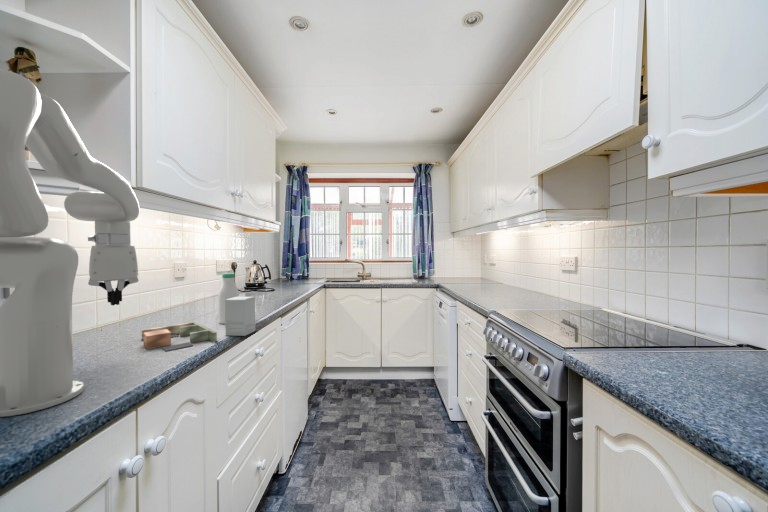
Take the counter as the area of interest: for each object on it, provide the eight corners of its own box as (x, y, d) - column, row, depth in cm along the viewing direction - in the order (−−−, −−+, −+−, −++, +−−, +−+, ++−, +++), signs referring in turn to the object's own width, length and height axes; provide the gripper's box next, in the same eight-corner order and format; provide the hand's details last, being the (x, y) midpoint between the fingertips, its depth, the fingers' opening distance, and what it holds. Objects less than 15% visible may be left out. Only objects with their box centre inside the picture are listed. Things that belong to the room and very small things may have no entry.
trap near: (165, 351, 87) (165, 350, 87) (161, 348, 90) (161, 347, 90) (193, 346, 92) (193, 345, 92) (188, 343, 95) (188, 342, 95)
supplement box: (256, 330, 110) (256, 296, 110) (244, 336, 103) (244, 299, 103) (237, 330, 111) (236, 296, 111) (224, 335, 103) (224, 299, 103)
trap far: (153, 341, 97) (153, 340, 97) (149, 338, 100) (149, 337, 100) (178, 336, 102) (178, 335, 102) (174, 334, 105) (174, 333, 105)
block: (146, 349, 89) (146, 336, 89) (143, 345, 94) (143, 332, 93) (170, 345, 94) (170, 332, 94) (167, 341, 98) (166, 329, 98)
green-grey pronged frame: (157, 353, 85) (157, 343, 85) (141, 339, 99) (141, 330, 99) (216, 341, 97) (216, 332, 97) (194, 330, 111) (194, 321, 111)
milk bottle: (240, 322, 122) (239, 273, 122) (218, 325, 118) (218, 274, 118) (238, 319, 129) (238, 272, 129) (217, 321, 125) (217, 273, 125)
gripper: (76, 240, 78) (78, 310, 78) (148, 241, 89) (150, 302, 90) (75, 240, 83) (77, 306, 83) (143, 241, 94) (144, 299, 95)
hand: (114, 304), depth 86 cm, fingers closed
